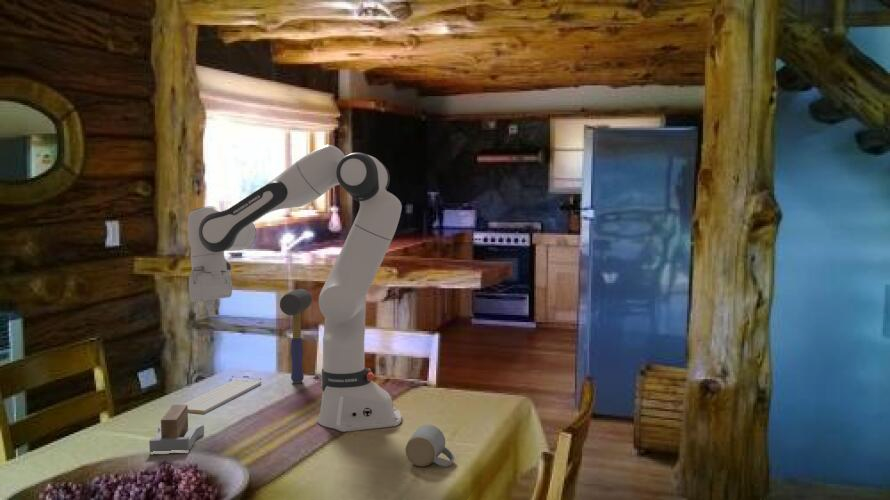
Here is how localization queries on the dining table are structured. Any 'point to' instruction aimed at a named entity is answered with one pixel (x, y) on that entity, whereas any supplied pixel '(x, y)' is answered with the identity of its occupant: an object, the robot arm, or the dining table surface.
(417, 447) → the ceramic mug
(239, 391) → the baseboard molding
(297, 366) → the rubber mallet
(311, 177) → the robot arm
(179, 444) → the grey channel
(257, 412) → the dining table surface
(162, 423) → the walnut plank
